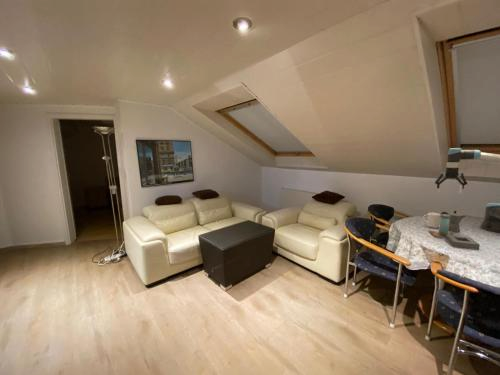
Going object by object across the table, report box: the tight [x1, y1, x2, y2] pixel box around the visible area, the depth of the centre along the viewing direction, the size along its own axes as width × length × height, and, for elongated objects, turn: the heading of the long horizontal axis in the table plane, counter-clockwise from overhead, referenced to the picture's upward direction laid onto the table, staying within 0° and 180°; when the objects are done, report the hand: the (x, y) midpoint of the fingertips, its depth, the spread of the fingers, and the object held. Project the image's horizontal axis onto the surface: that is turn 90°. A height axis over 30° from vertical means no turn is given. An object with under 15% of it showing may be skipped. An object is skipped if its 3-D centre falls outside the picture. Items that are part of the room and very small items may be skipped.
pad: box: [428, 230, 456, 239], centre depth 175 cm, size 16×12×1 cm
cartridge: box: [438, 213, 450, 236], centre depth 173 cm, size 6×6×17 cm
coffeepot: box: [440, 210, 466, 234], centre depth 182 cm, size 15×9×18 cm, turn 34°
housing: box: [445, 234, 481, 251], centre depth 158 cm, size 14×14×4 cm
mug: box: [422, 212, 441, 229], centre depth 195 cm, size 12×8×12 cm
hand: (449, 192), depth 176 cm, fingers open, 13 cm apart
